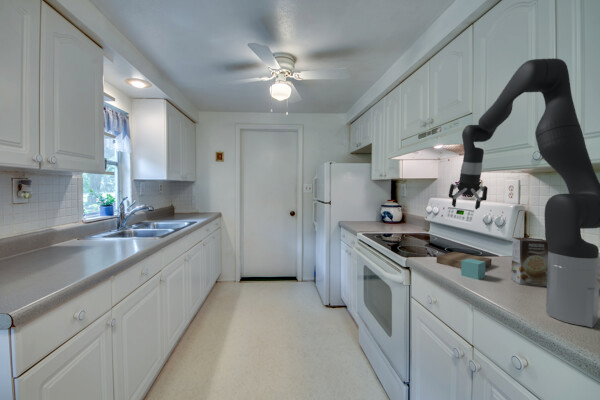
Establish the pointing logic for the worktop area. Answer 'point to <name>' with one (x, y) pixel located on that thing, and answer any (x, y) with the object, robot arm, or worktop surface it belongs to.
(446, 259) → the walnut stand
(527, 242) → the coffee box
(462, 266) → the teal cube
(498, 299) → the worktop surface
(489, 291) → the worktop surface
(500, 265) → the worktop surface
